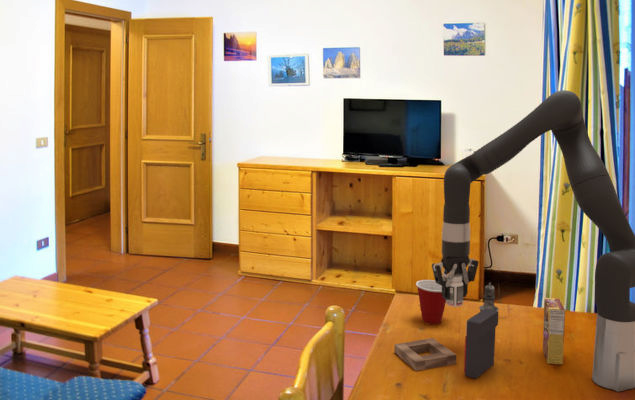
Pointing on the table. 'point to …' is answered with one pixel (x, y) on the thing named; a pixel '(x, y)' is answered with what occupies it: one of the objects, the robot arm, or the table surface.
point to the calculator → (480, 343)
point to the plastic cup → (431, 301)
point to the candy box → (553, 330)
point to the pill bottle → (456, 291)
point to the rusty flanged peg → (489, 299)
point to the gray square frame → (436, 359)
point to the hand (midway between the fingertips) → (454, 297)
